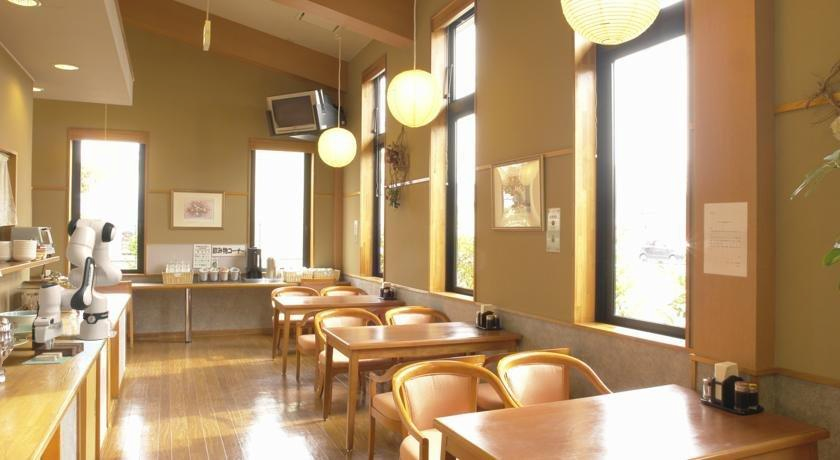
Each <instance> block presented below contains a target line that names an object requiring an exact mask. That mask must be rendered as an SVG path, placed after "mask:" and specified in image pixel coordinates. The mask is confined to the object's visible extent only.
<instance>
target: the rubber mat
mask: <svg viewBox="0 0 840 460" xmlns="http://www.w3.org/2000/svg"><path fill="white" fill-rule="evenodd" d="M71 358H72V357H61V358H59V359H57V360H55V361H35V357H32V358H30V359H28V360H26V361H23V362H22V363H21V366H22V365H53V364H54V365H55V364H56V365H57V364H58V365H59V364H62V363H64V362H66V361H68V360H69V359H71Z"/></svg>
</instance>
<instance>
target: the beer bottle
mask: <svg viewBox="0 0 840 460" xmlns="http://www.w3.org/2000/svg"><path fill="white" fill-rule="evenodd" d="M36 304H37V306H36V309H37V310H36V317H35V318H34V320H33V322H32V325H31V348H32V350H33V351H35V349H37V348H39V347H41V346H44V345H46V344H45V342H44V343H37V342H36V340H35V327H36V326H34V321H35V320H36V319H37V317H38V312H39V304H38V300H37V301H36Z"/></svg>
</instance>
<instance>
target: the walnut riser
mask: <svg viewBox="0 0 840 460" xmlns="http://www.w3.org/2000/svg"><path fill="white" fill-rule="evenodd" d="M84 346H85V343H84V342H58V343H57V342H54V344H53V348H51V349H46V345H44V346H41V347H39V348H37V349H35V350H34V358H35V357H36V356H38V355H40V354H42V353H57V352H62V357H71V358H73V357H75V356H77V355H79V354H80V353H83V352H84V349H85V347H84Z"/></svg>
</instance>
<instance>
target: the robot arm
mask: <svg viewBox="0 0 840 460" xmlns="http://www.w3.org/2000/svg"><path fill="white" fill-rule="evenodd" d="M66 233H67V235H68V236H69V237H70V238H69V241H68V244H67V247H66V249H65V257H66V258H65V259H67V261H68V262H69V263H71V264H72V265H74V266H75V268H71V270H69V272H68V274H67V280H68V283H69V284H70V285H71V286H72V287H73V288H66V287H63V286H61V285H60V283H59V282H48V283H43V284H42V285H41V286H40V287H39V291H38V300H37V301H38V304H39V312H38V317H37V319H36V320H35V319H34V320H35V321H34V320H33V321H34V326H36V327H35V340H36V342H37V343H44V342H45V344H46V349H51V348H53V344H54V343H55V341H56V338H57V337H60V336H62V335H63V332H64V327H63V320H62V310H75V311H80V312H81V311H82V321H81V322H80V323H79V332H78V333H79V335H77V336H76V339H80V340H84V341H93V340H94V341H97V340H104V339H111V338H115V337H116V336H117V334H118V331H117V330H113V325H114V324H113V322H112V321H111V320H110V319H109V314H110V310H108V299H107V296H106V295H105V294H103V293H101V292H98V291H96V290H95V288H96V287H110V286H115V285H119V283H120V282H121V281H122V278H123V272H122V270H121V268H119V267H118V266H117V265H115V264H113V263H112V261H111V259H110V255H109V243H110V242H112V241H113V240H114V238H115V237H116V234H117V232H116V226H115V224H113V223H110V222H108V221H102V220H99V219H98V220H97V219H89V218H81V217H75V218H72V219H71V220H70V221H69V222H68V224H67V228H66Z"/></svg>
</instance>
